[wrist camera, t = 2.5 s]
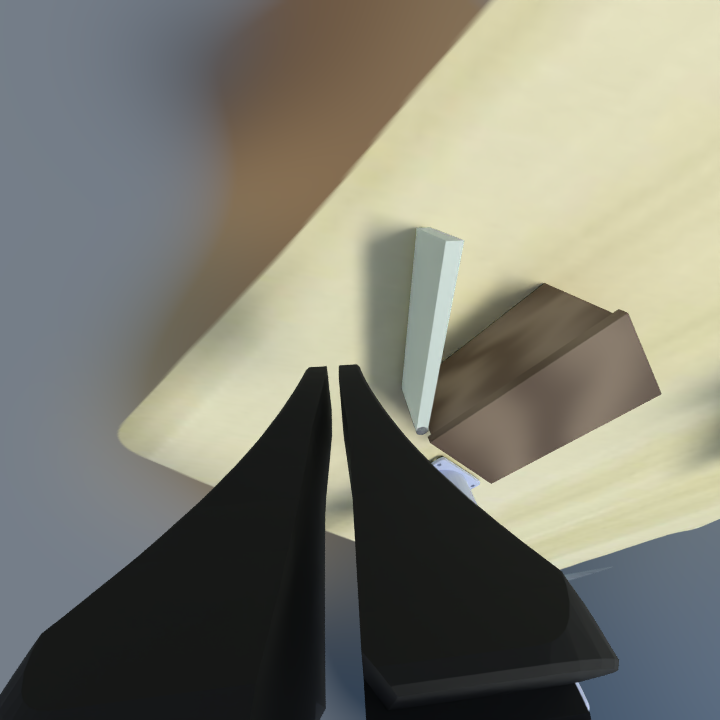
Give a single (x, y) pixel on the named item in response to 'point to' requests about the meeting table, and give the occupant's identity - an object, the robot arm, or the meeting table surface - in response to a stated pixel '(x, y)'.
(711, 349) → the meeting table surface
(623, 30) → the meeting table surface
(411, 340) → the cabinet door
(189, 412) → the meeting table surface
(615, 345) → the cabinet
